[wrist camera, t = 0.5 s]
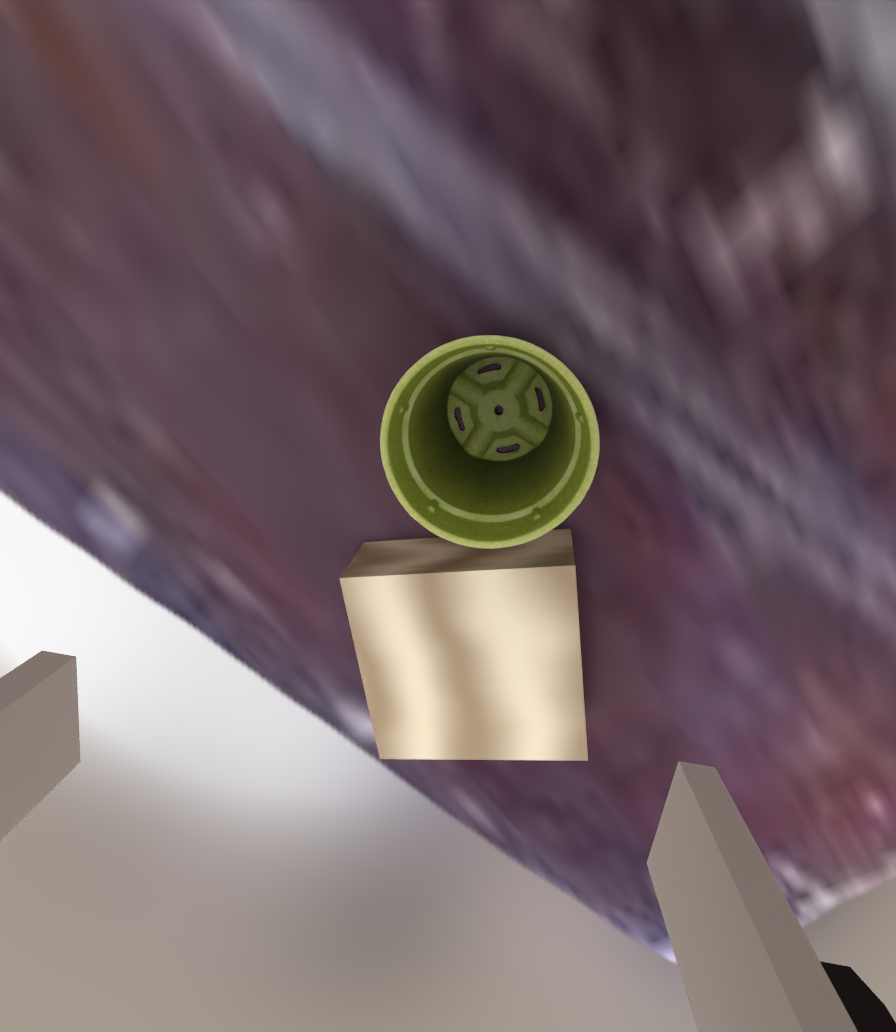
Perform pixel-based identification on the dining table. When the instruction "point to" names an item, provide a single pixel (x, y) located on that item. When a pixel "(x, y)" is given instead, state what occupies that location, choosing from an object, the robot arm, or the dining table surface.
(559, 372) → the plant pot
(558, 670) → the ash block
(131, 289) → the dining table surface
